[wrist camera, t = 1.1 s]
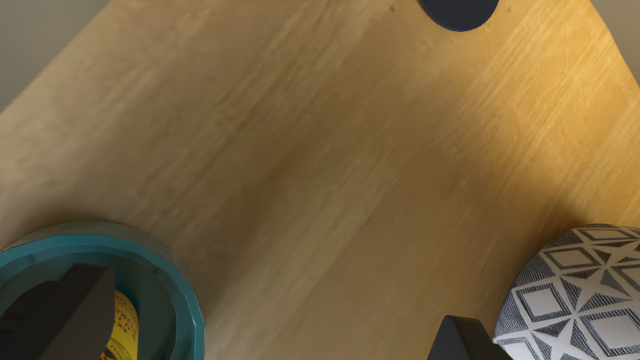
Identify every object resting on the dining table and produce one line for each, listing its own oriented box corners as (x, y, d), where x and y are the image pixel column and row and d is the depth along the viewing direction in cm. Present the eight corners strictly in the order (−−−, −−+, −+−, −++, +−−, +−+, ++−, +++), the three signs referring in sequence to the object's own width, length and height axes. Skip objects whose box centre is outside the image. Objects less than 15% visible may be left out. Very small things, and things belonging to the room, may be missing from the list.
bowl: (-106, 315, 23) (-161, 353, 19) (116, 177, 27) (110, 184, 23) (59, 468, 27) (43, 528, 23) (234, 329, 31) (247, 359, 27)
